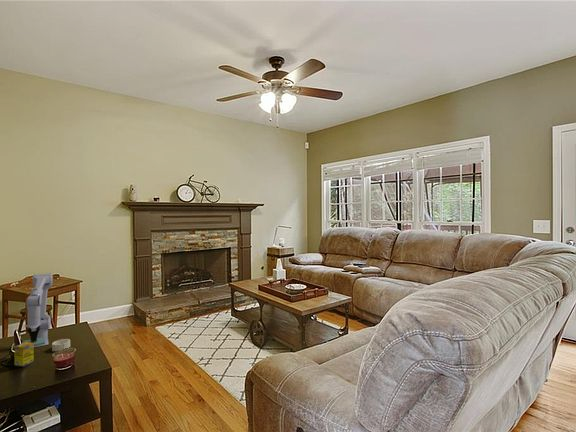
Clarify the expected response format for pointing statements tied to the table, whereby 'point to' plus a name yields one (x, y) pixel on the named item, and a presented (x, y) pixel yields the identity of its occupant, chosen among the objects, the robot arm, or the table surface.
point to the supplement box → (24, 354)
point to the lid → (37, 341)
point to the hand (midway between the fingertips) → (33, 340)
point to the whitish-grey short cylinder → (60, 344)
